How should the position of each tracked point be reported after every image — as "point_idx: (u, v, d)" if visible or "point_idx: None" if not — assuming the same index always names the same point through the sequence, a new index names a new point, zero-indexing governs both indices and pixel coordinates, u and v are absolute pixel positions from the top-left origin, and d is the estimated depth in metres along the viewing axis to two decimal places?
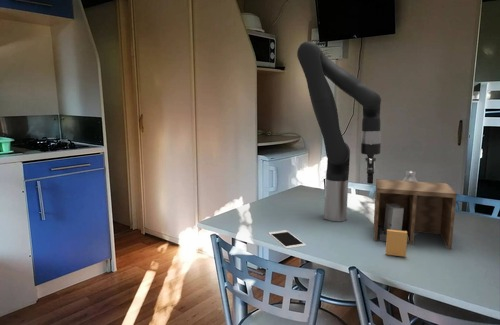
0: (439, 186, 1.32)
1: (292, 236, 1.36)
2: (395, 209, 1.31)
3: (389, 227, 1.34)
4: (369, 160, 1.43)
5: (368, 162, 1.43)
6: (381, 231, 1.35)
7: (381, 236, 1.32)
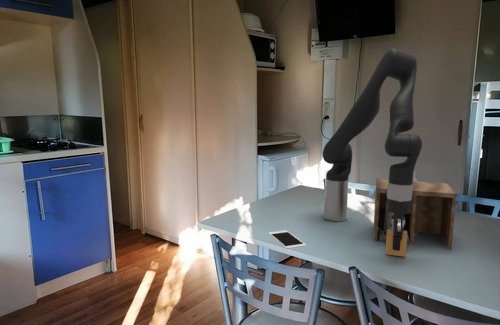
0: (439, 186, 1.32)
1: (292, 236, 1.36)
2: None
3: (389, 227, 1.34)
4: (397, 229, 1.12)
5: (396, 230, 1.12)
6: (381, 231, 1.35)
7: (381, 236, 1.32)
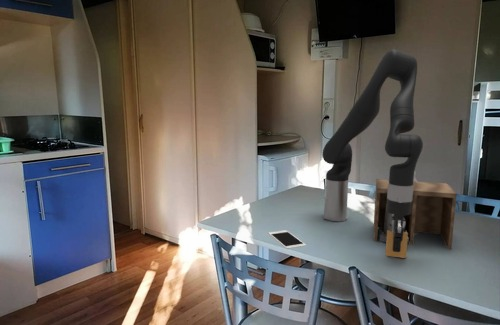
0: (439, 186, 1.32)
1: (292, 236, 1.36)
2: None
3: (389, 227, 1.33)
4: (398, 230, 1.11)
5: (396, 232, 1.11)
6: (381, 232, 1.34)
7: (381, 237, 1.31)
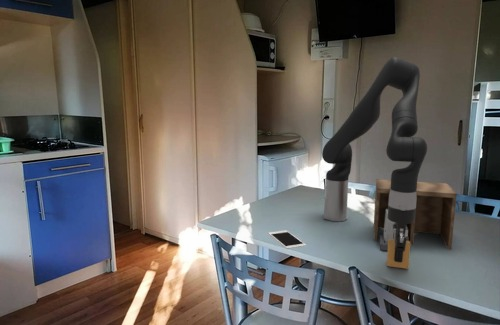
0: (439, 186, 1.32)
1: (292, 236, 1.36)
2: None
3: (384, 233, 1.27)
4: (400, 240, 1.03)
5: (398, 241, 1.04)
6: (382, 240, 1.27)
7: (382, 245, 1.23)
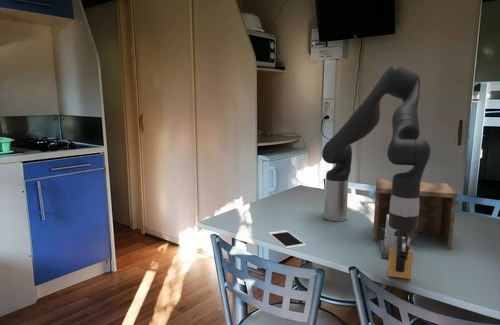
0: (439, 186, 1.32)
1: (292, 236, 1.36)
2: None
3: (385, 240, 1.21)
4: (402, 249, 0.97)
5: (400, 250, 0.98)
6: (382, 247, 1.21)
7: (382, 253, 1.17)
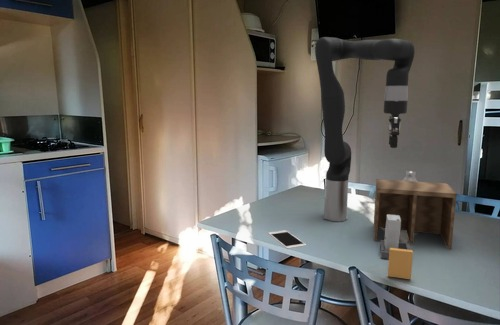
0: (439, 186, 1.32)
1: (292, 236, 1.36)
2: (390, 221, 1.18)
3: (385, 240, 1.21)
4: (394, 119, 1.21)
5: (393, 121, 1.21)
6: (382, 247, 1.20)
7: (382, 253, 1.17)
